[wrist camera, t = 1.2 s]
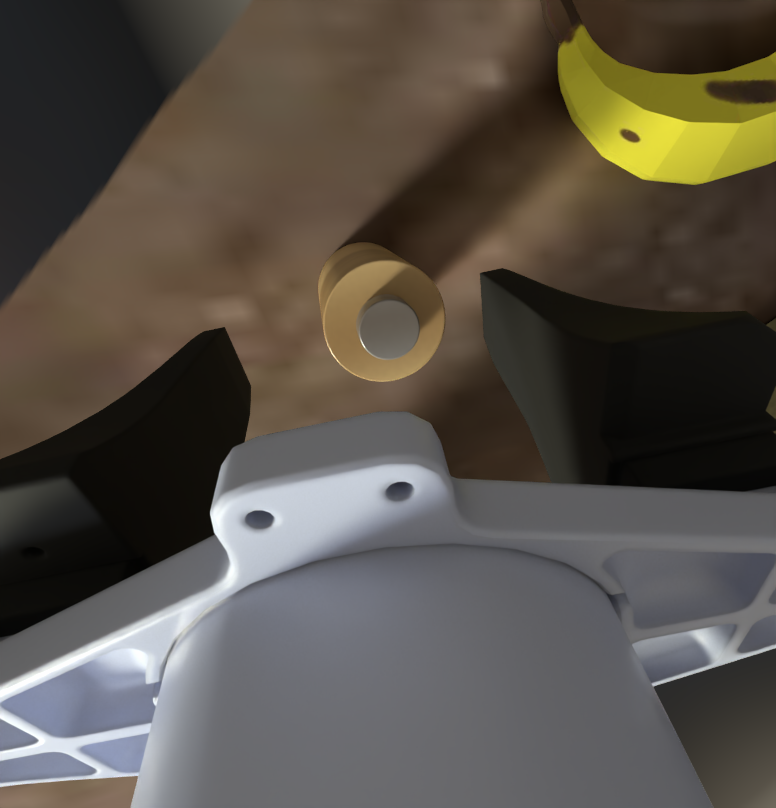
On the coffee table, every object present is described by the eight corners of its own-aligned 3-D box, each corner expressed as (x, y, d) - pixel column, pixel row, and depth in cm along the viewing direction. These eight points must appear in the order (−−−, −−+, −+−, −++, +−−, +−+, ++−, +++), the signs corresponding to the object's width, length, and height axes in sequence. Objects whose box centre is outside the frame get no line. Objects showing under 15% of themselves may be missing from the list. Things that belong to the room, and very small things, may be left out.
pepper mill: (414, 321, 26) (461, 374, 18) (331, 341, 25) (342, 404, 18) (397, 232, 24) (442, 248, 16) (307, 253, 24) (308, 280, 16)
